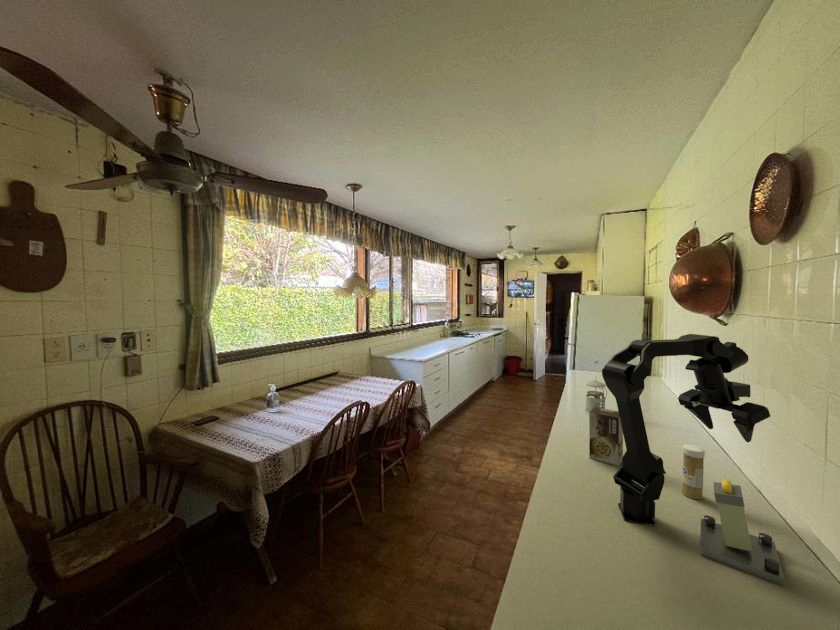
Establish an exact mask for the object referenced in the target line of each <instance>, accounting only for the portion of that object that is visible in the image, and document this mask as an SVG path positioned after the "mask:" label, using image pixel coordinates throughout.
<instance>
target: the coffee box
mask: <svg viewBox="0 0 840 630" xmlns="http://www.w3.org/2000/svg"><path fill="white" fill-rule="evenodd" d="M588 416H589V417H588V418H589V419H588V420H589V421H588V422H589V423H588V424H589V429H588V430H589V431H588V432H589V433H588V434H589V437H588V438H589V444H588V446H589V449H588V450H589V455H588V456H589V459H593V460H597V461H600V462H603V463H607V464H610V465H613V466H616V467H619V466H620V465H622V457H623V456H624V435H623V430H622V426H621V421H620V416H619V412H618V410H611V409H608V408H605V409H602V408H596V407H594V408H593V409H592V410H591V411H590V412H589V415H588Z"/></svg>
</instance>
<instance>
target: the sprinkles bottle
mask: <svg viewBox="0 0 840 630" xmlns="http://www.w3.org/2000/svg"><path fill="white" fill-rule="evenodd" d="M705 452H706V450H705V449H704V448H703V447H701V446H698V445H695V444H691V443H690V444H686V443H685V444H684V445H682V453H683V460H682V461H683V462H682V477H681V478H682V479H681V480H682V488H681V493H682V494H683V495H684V496H686V497H687V498H689V499H694V500H702V499H703V498H704V495H703V488H704V461H705V460H704V459H705V454H706V453H705Z"/></svg>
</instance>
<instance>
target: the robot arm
mask: <svg viewBox="0 0 840 630" xmlns="http://www.w3.org/2000/svg"><path fill="white" fill-rule="evenodd" d="M672 356H673V357H675V356H691V357H698V358H697V359H689V362H688V363H687V364H686V365H685V370H687V371H693V373H694V376H695V379H696V382H697V383H696V385H694V388H691V389H689V390H687V391H685V392H682V393H680V394H679V395H678V397H677V399H678V403H679V405H680V406H683V407H684V409H687V410H688V411H690V413H692V414H693V415H694V416H695V418H697V419H698V420H699V421H700V422H701V423H702V424H703V425H704V426H706V427H707V428H708V430H712V429H714V423H713V419H712V416H711V413H710V412H711V411H710V408H713V409H720V410H724V411H727V412H730V413H731V417H732V419H733V420H734V421H732V422H733V424H734V426H735V428H737V430H738V432H739V433H740V436H741V437H742V438H743V440H744V441H745V442H746V443H750V442H752V438H753V433H754V429H755V426H756V424H758V423H760V422H762V421H764V420H767V419H768V418H771V414H770V410H769V408H768V407H767V406H764V405H763V404H757V403H754V402H749V401H748V402H744V403H742V404H740V405H739V404H736V403H734V402H738V401H740V400H741V399H740V398H751V384H749V383H743V382H737V381H730V380H728V378H727V377H725V374H728V373H731V372H734V371H735V370H737V369H738V368H740V367H742V366H744V365H746V364H747V363H748V362H749V354H747V353H746V352H745V351H744V349H742V348H741V347H739V346H738V345H737V343H736V342H734V341H733V342H732V341H726V342H723V343H722V341H721V340H720V337H718V336H716V335H715V336H714V335H707V334H706V335H705V334H697V333H695V334H694V333H689V334H684V335H680V336H679V338H673V339H649V340H642V339H635V340H632V341H631V342H630V343H629V344H628V345H627V346H626V347H625V348H623V349H621V350H619V351H618V352H617V353H615V354H614V355H612V356H611V358H610V359H609V360H608V362H606V363H605V364H604V366H603V368H602V370H601V376H602V378H603V380H604V384H605V385H606V386H605V387H606V389H608V390H609V392H610V393H611V394H612V396H613V397H614V398H615V403H616V406H617V411H618V412H619V416H620V421H621V426H622V430H623V441H624V443H625V449H626V451H625V452H624V453H623V457H622V462H621V466H620V467H619V468H618V470H617V471H616V472H615V473H614V474H613V476H612V478H613V481H614V484H616V485H618V486H619V488H620V490H619V491H620V494H619V495H620V496H619V499H620V500H619V502H618V504H617V506H618V508H619V511H620V513H621V515H622V518H623V520H625V521H627V522H632V523H639V524H644V525H651V526H655V525H656V522H655V520H654V519H656V502H655V501H657V500H660V498H661V495H662V491H663V488H664V484H665V475H666V473H667V472H666V471H665V468H664V461H663V458H662V457H660V456H659V455H657V454H654V453H653V452H652V451H651V447H650V444H649V438H648V434H647V429H646V425H645V420H644V414H643V409H642V405H641V399H640V396H641V395H642V394H643V392H644V390H645V379H647V377H648V376H649V375H650V373H651V372H652V365H653V360H654V359H655V357H656V358H657V357H658V358H659V357H672ZM637 357H640V361H639V362H638V364H636V365H635V364H631V363H629V362H631V361H632V360H634V359H636V358H637Z"/></svg>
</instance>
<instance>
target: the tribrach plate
mask: <svg viewBox="0 0 840 630" xmlns="http://www.w3.org/2000/svg"><path fill="white" fill-rule="evenodd" d="M749 536H750V542H751V547H752V552H751V551H747V550H743V549H738V548H734V547H729V546H726V544H725V539H724V534H723V529H722V524H720V523H716V519H715V517H713V516H710V515H708V514H707V515H706V514H705V515H704V516H703V518H700V555H701V556H703V557H706V558H708V559H711V560H714V561H717V562H719V563H721V564H725V565H727V566H730V567H732V568H735V569H738V570H741V571H743V572H745V573H749V574H751V575H753V576H755V577H758V578H761V579H764V580H767V581H769V582H772V583H773V584H777V585H779V586H783V587H785V575H784V571H783V568H782V564H781V561H780V557H779V554H778V551H777V546H776V544H775V541H773V537H772V536H770V535H769V534H767V533H764V532H759V533H758V536H757V535H754V534H751V533H749Z"/></svg>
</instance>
